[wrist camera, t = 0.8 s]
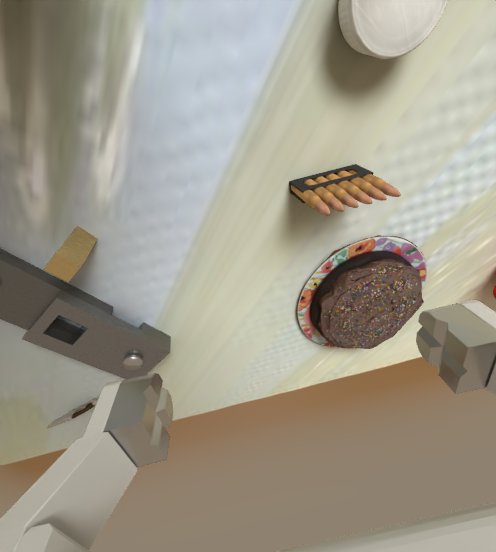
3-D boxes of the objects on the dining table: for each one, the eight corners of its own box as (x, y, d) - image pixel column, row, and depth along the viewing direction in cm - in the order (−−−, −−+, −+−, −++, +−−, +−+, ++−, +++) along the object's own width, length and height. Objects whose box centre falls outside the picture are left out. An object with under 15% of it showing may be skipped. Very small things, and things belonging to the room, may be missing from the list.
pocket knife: (96, 395, 59) (94, 404, 57) (100, 397, 60) (97, 406, 58) (46, 422, 61) (42, 431, 59) (49, 424, 61) (45, 433, 59)
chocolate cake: (357, 207, 47) (380, 222, 42) (447, 265, 59) (474, 283, 53) (269, 324, 58) (278, 348, 52) (360, 354, 70) (375, 376, 64)
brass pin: (65, 240, 40) (43, 269, 34) (77, 226, 39) (56, 252, 33) (86, 252, 42) (68, 282, 35) (97, 238, 41) (81, 266, 34)
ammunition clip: (290, 193, 43) (322, 223, 33) (288, 181, 42) (321, 208, 32) (355, 176, 43) (406, 201, 34) (356, 164, 42) (408, 185, 33)
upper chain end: (33, 321, 46) (18, 343, 42) (65, 282, 44) (53, 302, 39) (139, 365, 56) (135, 387, 52) (170, 336, 54) (169, 356, 50)
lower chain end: (-56, 284, 40) (-72, 296, 38) (-25, 236, 37) (-39, 246, 35) (80, 341, 50) (75, 354, 48) (113, 306, 48) (109, 318, 45)
